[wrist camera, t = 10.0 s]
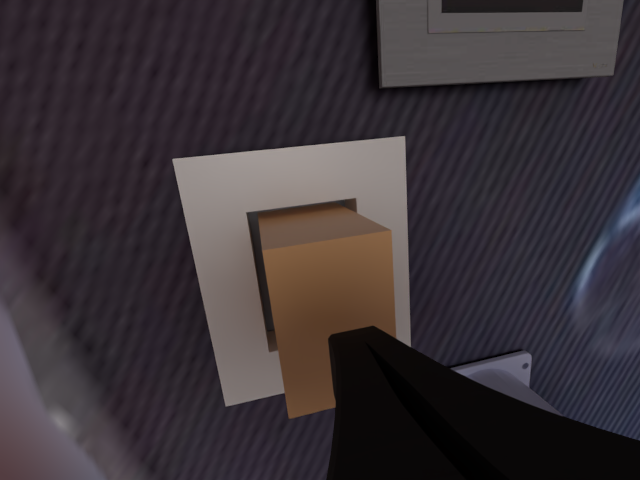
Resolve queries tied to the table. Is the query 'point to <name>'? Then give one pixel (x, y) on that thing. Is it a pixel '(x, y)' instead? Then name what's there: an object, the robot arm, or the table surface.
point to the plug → (323, 291)
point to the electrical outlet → (494, 40)
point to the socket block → (245, 242)
